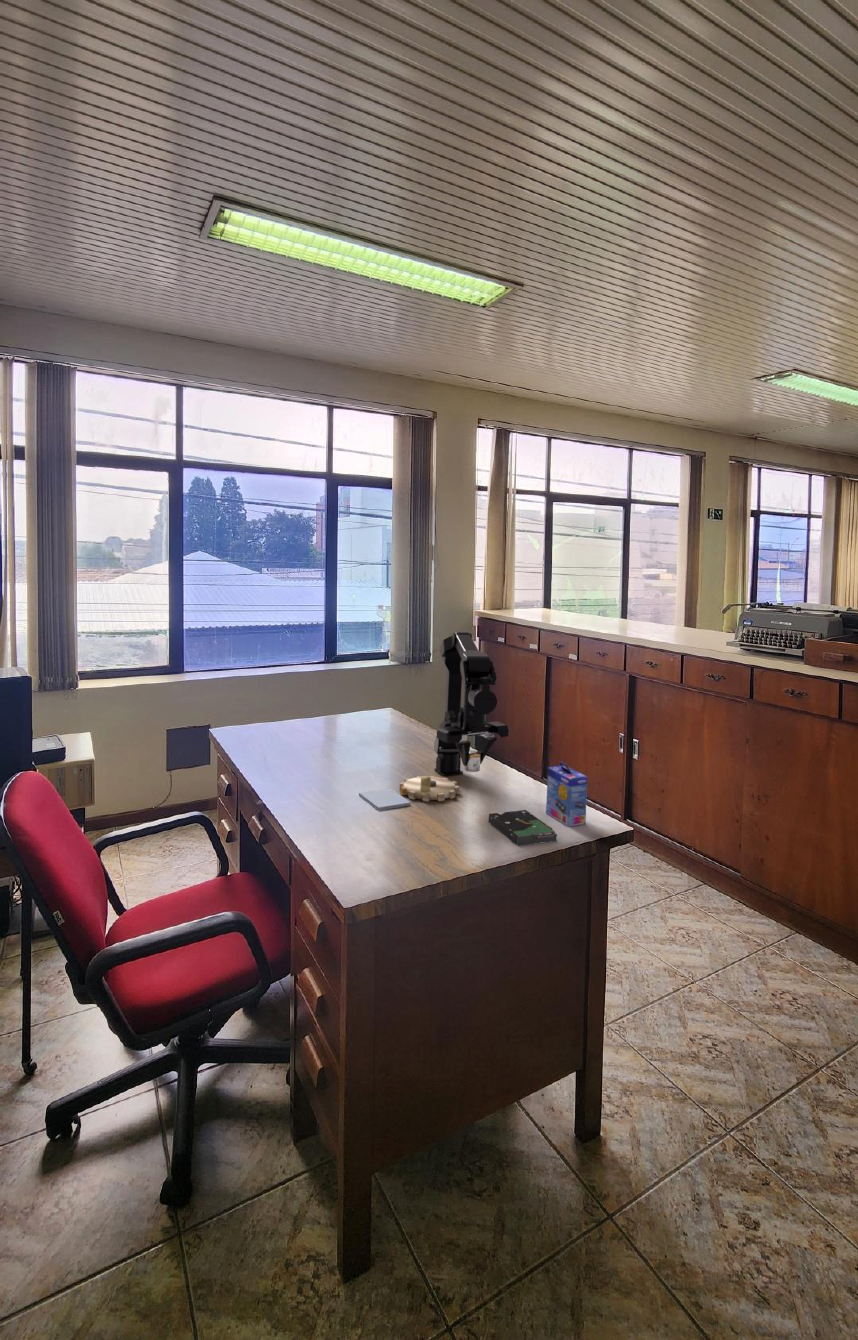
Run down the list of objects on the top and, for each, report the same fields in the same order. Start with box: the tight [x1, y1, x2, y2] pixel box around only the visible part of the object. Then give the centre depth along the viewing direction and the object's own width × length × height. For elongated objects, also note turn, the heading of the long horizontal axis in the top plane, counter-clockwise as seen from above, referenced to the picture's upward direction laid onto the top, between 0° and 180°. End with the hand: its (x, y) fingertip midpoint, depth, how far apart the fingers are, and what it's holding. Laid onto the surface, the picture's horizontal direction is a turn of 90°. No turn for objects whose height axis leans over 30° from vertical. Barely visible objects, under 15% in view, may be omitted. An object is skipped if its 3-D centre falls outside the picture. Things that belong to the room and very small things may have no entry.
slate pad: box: [358, 788, 411, 811], centre depth 175 cm, size 9×12×1 cm
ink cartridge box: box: [545, 761, 588, 827], centre depth 165 cm, size 10×6×14 cm, turn 24°
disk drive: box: [488, 809, 558, 847], centre depth 157 cm, size 10×3×15 cm
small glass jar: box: [463, 749, 481, 773], centre depth 171 cm, size 4×4×4 cm
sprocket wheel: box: [399, 775, 460, 802], centre depth 182 cm, size 16×16×5 cm
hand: (472, 764), depth 171 cm, fingers closed on small glass jar, 4 cm apart
